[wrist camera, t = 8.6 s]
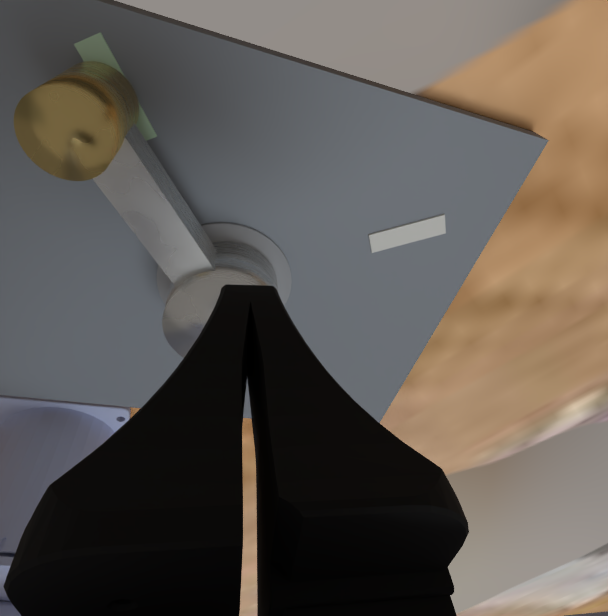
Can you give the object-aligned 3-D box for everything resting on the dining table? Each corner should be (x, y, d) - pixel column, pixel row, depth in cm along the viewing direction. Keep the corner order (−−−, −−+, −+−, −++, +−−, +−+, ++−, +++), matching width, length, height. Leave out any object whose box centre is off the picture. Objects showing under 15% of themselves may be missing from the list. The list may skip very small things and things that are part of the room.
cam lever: (293, 304, 22) (302, 360, 19) (206, 339, 23) (200, 399, 20) (138, 30, 14) (109, 48, 11) (15, 97, 15) (-44, 131, 12)
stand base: (371, 415, 31) (375, 432, 30) (-16, 376, 25) (-28, 395, 24) (534, 131, 20) (551, 142, 19) (-105, -69, 14) (-136, -71, 12)
